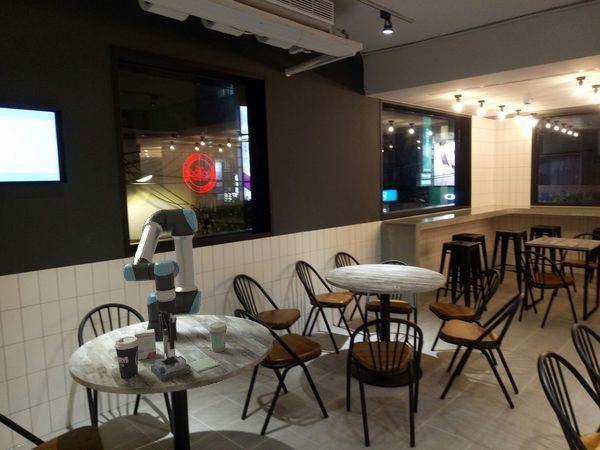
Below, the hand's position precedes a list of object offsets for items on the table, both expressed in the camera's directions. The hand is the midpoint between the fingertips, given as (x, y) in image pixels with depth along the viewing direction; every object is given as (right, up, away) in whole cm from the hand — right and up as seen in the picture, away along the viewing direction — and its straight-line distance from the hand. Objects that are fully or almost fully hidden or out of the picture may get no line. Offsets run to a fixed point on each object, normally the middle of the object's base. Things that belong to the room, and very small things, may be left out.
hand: (169, 354), depth 176 cm
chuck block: (0, -8, +1) cm, 8 cm away
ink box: (-16, -6, +18) cm, 24 cm away
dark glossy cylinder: (0, -3, 0) cm, 3 cm away
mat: (+12, -7, +7) cm, 15 cm away
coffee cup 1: (-16, -8, -1) cm, 18 cm away
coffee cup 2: (+16, -5, +23) cm, 28 cm away
